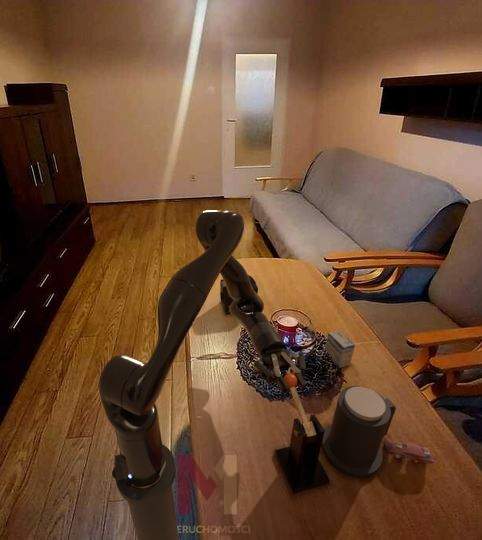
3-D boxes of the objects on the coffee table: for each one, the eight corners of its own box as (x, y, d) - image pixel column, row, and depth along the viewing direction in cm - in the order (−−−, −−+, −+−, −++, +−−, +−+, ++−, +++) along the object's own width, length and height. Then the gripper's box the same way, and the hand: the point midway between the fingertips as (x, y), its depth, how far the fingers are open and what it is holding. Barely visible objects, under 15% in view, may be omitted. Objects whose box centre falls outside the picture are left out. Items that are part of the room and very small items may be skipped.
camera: (218, 300, 144) (217, 269, 137) (250, 296, 146) (251, 265, 139) (223, 316, 135) (223, 283, 128) (258, 311, 137) (260, 279, 130)
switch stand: (274, 452, 86) (280, 410, 78) (308, 444, 88) (316, 402, 80) (292, 494, 78) (300, 451, 70) (329, 483, 80) (340, 440, 72)
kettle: (341, 485, 79) (356, 435, 70) (311, 431, 91) (320, 383, 82) (398, 468, 82) (419, 419, 73) (362, 419, 94) (376, 371, 85)
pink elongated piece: (383, 457, 86) (391, 454, 80) (383, 438, 88) (390, 433, 83) (428, 469, 83) (439, 466, 78) (426, 448, 86) (437, 444, 80)
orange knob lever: (279, 377, 84) (282, 373, 81) (292, 375, 85) (296, 370, 82) (301, 440, 76) (305, 437, 73) (315, 436, 77) (320, 433, 74)
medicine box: (323, 352, 116) (327, 332, 112) (334, 349, 118) (338, 329, 113) (339, 369, 110) (343, 348, 106) (350, 365, 111) (355, 344, 107)
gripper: (242, 335, 91) (268, 385, 76) (292, 326, 94) (326, 372, 79) (241, 356, 95) (265, 408, 80) (289, 347, 97) (321, 395, 83)
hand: (295, 390), depth 80 cm, fingers closed on orange knob lever, 3 cm apart
